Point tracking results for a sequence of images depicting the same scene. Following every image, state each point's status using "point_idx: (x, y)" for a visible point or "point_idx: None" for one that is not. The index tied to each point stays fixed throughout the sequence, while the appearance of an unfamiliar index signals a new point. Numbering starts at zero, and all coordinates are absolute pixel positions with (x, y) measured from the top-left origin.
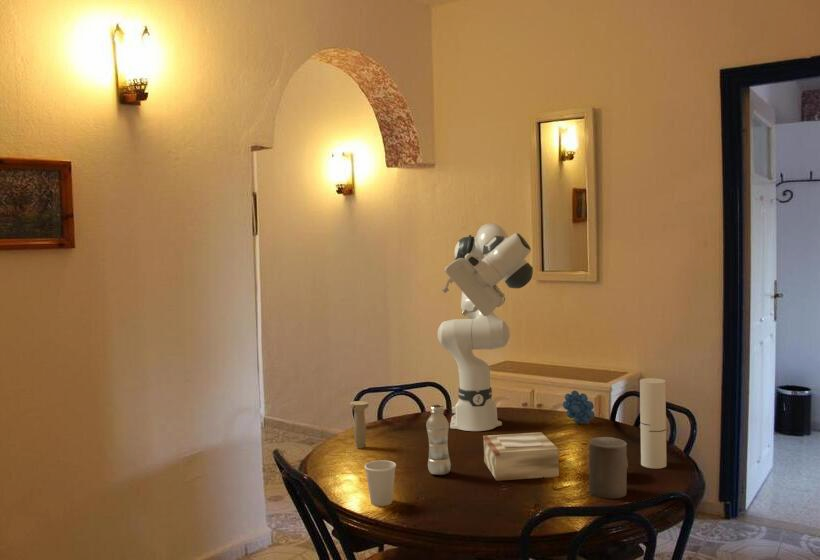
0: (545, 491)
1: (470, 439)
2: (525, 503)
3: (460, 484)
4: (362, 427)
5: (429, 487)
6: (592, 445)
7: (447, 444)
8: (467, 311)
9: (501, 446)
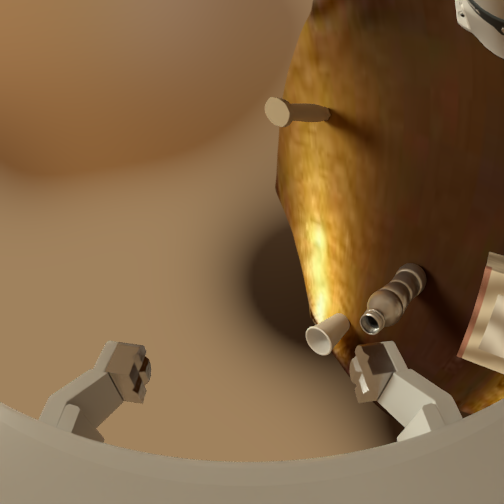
0: (487, 384)
1: (497, 107)
2: None
3: (424, 321)
4: (308, 120)
5: None
6: None
7: (409, 302)
8: (376, 398)
9: (479, 337)
